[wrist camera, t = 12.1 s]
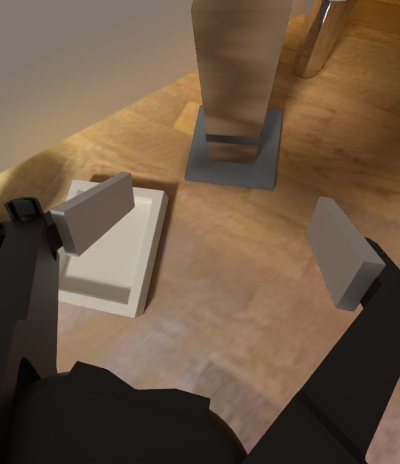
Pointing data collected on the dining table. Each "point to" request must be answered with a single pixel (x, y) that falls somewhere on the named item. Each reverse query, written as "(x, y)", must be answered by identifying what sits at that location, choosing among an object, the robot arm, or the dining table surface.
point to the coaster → (236, 173)
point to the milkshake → (320, 33)
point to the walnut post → (237, 70)
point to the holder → (116, 258)
